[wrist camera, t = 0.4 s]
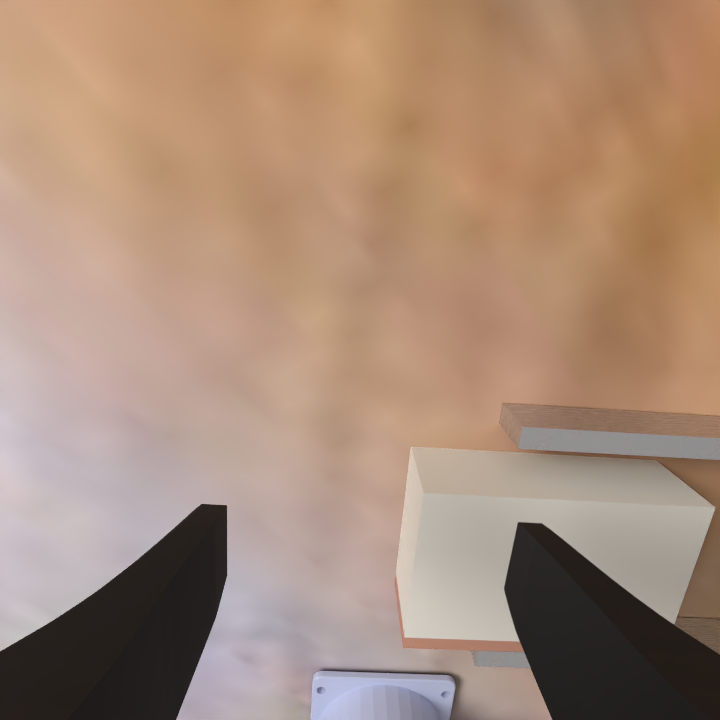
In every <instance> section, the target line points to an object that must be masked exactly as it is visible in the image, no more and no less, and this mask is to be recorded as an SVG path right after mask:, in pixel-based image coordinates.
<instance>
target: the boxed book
mask: <svg viewBox="0 0 720 720" xmlns="http://www.w3.org/2000/svg"><path fill="white" fill-rule="evenodd" d="M714 511H715V507H714V506H713V505H712V504H710V503H709V502H708V501H707V500H705V499H704V498H703V497H702V496H700V495H699V494H698V493H697V492H695V491H694V490H693V489H692V488H690V487H689V486H688V485H686V484H685V483H684V482H683V481H681V480H680V479H679V478H678V477H676V476H675V475H674V474H673V473H671V472H670V471H669V470H668V469H666V468H665V467H664V466H663V465H661V464H660V463H659V462H658V461H656V460H644V459H626V458H608V457H590V456H572V455H554V454H536V453H518V452H500V451H482V450H464V449H446V448H428V447H411V451H410V459H409V468H408V476H407V484H406V493H405V501H404V510H403V518H402V526H401V535H400V543H399V552H398V560H397V569H396V577H395V588H396V596H397V604H398V612H399V619H400V627H401V635H402V643H403V648H421V649H450V650H478V651H507V652H524V650H523V648H522V646H521V643H520V641H519V638H518V636H517V633H516V631H515V627H514V624H513V621H512V617H511V614H510V610H509V606H508V603H507V599H506V595H505V591H504V585H505V581H506V576H507V571H508V567H509V562H510V557H511V552H512V548H513V543H514V538H515V533H516V529H517V524H518V522H527V523H542V524H544V525H545V526H546V527H548V528H549V529H550V530H552V531H553V532H554V533H556V534H557V535H558V536H559V537H561V538H562V539H563V540H564V541H566V542H567V543H568V544H569V545H571V546H572V547H573V548H574V549H575V550H577V551H578V552H579V553H580V554H582V555H583V556H584V557H585V558H587V559H588V560H589V561H590V562H591V563H593V564H594V565H595V566H596V567H598V568H599V569H600V570H601V571H603V572H604V573H605V574H606V575H608V576H609V577H610V578H611V579H613V580H614V581H615V582H617V583H618V584H619V585H620V586H622V587H623V588H624V589H626V590H627V591H628V592H630V593H631V594H632V595H633V596H635V597H636V598H638V599H639V600H640V601H642V602H643V603H644V604H646V605H647V606H648V607H650V608H651V609H653V610H654V611H655V612H657V613H658V614H659V615H661V616H662V617H664V618H665V619H666V620H668V621H669V622H671V623H672V624H675V621H676V618H677V615H678V612H679V609H680V607H681V604H682V601H683V598H684V595H685V593H686V590H687V587H688V584H689V581H690V578H691V576H692V573H693V570H694V567H695V564H696V562H697V559H698V556H699V553H700V550H701V547H702V545H703V542H704V539H705V536H706V533H707V531H708V528H709V525H710V522H711V519H712V516H713V514H714Z"/></svg>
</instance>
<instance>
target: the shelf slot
mask: <svg viewBox="0 0 720 720" xmlns="http://www.w3.org/2000/svg"><path fill="white" fill-rule="evenodd" d="M499 423H500V424H501V426H502V427H503V429H504V430H505V431H506V433H507V434H508V435H509V437H510V438H511V440H512V441H513V442H514V444H515V445H516V446H517V448H518V449H532V450H550V451H568V452H585V453H603V454H621V455H639V456H657V457H675V458H693V459H710V460H720V416H708V415H692V414H675V413H658V412H642V411H625V410H609V409H592V408H576V407H559V406H542V405H526V404H509V403H503V406H502V411H501V417H500V422H499ZM674 625H675V626H677V627H678V628H680V629H681V630H683V631H684V632H686V633H687V634H689V635H690V636H692V637H694V638H695V639H697V640H698V641H700V642H701V643H703V644H704V645H706V646H707V647H709V648H711V649H712V650H714V651H715V652H717V653H718V654H720V619H707V618H683V617H677V618H676V621H675V624H674ZM471 652H472V656H473V659H474V663H475V666H485V667H514V668H531V667H530V665H529V663H528V660H527V658H526V655H525V653H524V652H507V651H478V650H471Z"/></svg>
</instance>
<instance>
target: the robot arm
mask: <svg viewBox="0 0 720 720" xmlns="http://www.w3.org/2000/svg"><path fill="white" fill-rule="evenodd" d="M226 577H227V505H210V504H201V505H200V506H199V507H197V508H196V509H195V510H194V511H193V512H192V513H190V514H189V515H188V516H187V517H186V518H185V519H184V520H183V521H182V522H180V523H179V524H178V525H177V526H176V527H175V528H174V529H173V530H172V531H170V532H169V533H168V534H167V535H166V536H165V537H164V538H163V539H161V540H160V541H159V542H158V543H157V544H156V545H154V546H153V547H152V548H151V549H150V550H148V551H147V552H146V553H145V554H144V555H143V556H141V557H140V558H139V559H138V560H137V561H135V562H134V563H133V564H132V565H130V566H129V567H128V568H127V569H125V570H124V571H123V572H121V573H120V574H119V575H118V576H116V577H115V578H114V579H112V580H111V581H110V582H109V583H107V584H106V585H105V586H103V587H102V588H101V589H99V590H98V591H97V592H95V593H94V594H92V595H91V596H89V597H88V598H87V599H85V600H84V601H82V602H81V603H79V604H78V605H76V606H75V607H73V608H72V609H70V610H69V611H67V612H66V613H64V614H63V615H61V616H59V617H58V618H56V619H55V620H53V621H52V622H50V623H48V624H47V625H45V626H43V627H42V628H40V629H38V630H36V631H35V632H33V633H31V634H30V635H28V636H26V637H24V638H23V639H21V640H19V641H18V642H16V643H14V644H12V645H11V646H9V647H7V648H6V649H4V650H2V651H0V720H176V718H177V716H178V713H179V711H180V708H181V706H182V703H183V700H184V698H185V695H186V693H187V690H188V688H189V685H190V683H191V680H192V677H193V675H194V672H195V670H196V667H197V665H198V662H199V660H200V657H201V654H202V652H203V649H204V647H205V644H206V642H207V639H208V636H209V634H210V631H211V629H212V626H213V623H214V621H215V618H216V615H217V611H218V608H219V604H220V600H221V597H222V593H223V589H224V585H225V581H226ZM504 591H505V595H506V599H507V603H508V606H509V610H510V614H511V617H512V621H513V624H514V627H515V631H516V633H517V636H518V638H519V641H520V643H521V646H522V648H523V650H524V653H525V655H526V658H527V660H528V663H529V665H530V667H531V670H532V672H533V675H534V677H535V679H536V682H537V684H538V687H539V689H540V691H541V694H542V696H543V698H544V701H545V703H546V706H547V708H548V710H549V713H550V715H551V717H552V720H720V654H718V653H717V652H715V651H714V650H712V649H711V648H709V647H707V646H706V645H704V644H703V643H701V642H700V641H698V640H697V639H695V638H694V637H692V636H690V635H689V634H687V633H686V632H684V631H683V630H681V629H680V628H678V627H677V626H675V625H674V624H672V623H671V622H669V621H668V620H666V619H665V618H664V617H662V616H661V615H659V614H658V613H657V612H655V611H654V610H653V609H651V608H650V607H648V606H647V605H646V604H644V603H643V602H642V601H640V600H639V599H638V598H636V597H635V596H633V595H632V594H631V593H630V592H628V591H627V590H626V589H624V588H623V587H622V586H620V585H619V584H618V583H617V582H615V581H614V580H613V579H611V578H610V577H609V576H608V575H606V574H605V573H604V572H603V571H601V570H600V569H599V568H598V567H596V566H595V565H594V564H593V563H591V562H590V561H589V560H588V559H587V558H585V557H584V556H583V555H582V554H580V553H579V552H578V551H577V550H575V549H574V548H573V547H572V546H571V545H569V544H568V543H567V542H566V541H564V540H563V539H562V538H561V537H559V536H558V535H557V534H556V533H554V532H553V531H552V530H550V529H549V528H548V527H546V526H545V525H544V524H542V523H527V522H518V524H517V529H516V533H515V538H514V543H513V548H512V552H511V557H510V562H509V567H508V571H507V576H506V581H505V585H504ZM455 688H456V686H455V681H454V679H453V677H451V676H449V675H429V674H400V673H370V672H341V671H319V672H317V673H315V674H314V676H313V685H312V702H311V719H310V720H450V715H451V710H452V705H453V699H454V694H455Z"/></svg>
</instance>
